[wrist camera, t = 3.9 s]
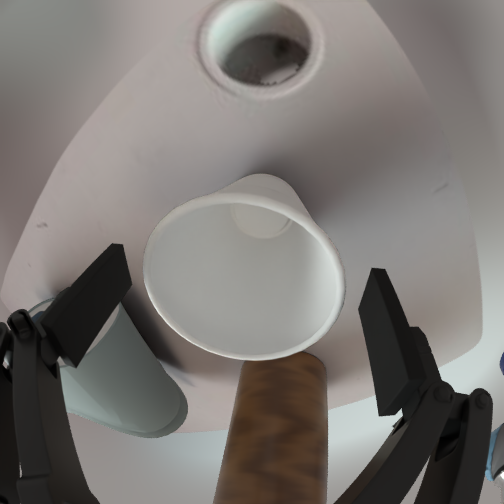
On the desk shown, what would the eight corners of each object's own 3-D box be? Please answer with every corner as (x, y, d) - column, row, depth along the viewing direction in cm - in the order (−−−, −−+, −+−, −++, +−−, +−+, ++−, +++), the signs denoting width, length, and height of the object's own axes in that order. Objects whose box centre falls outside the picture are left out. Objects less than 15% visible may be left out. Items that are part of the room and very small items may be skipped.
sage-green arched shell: (139, 286, 28) (80, 377, 18) (199, 386, 37) (176, 460, 26) (40, 295, 34) (-5, 349, 23) (98, 374, 42) (70, 426, 31)
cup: (230, 272, 26) (198, 368, 16) (184, 174, 21) (107, 235, 12) (336, 245, 23) (359, 344, 13) (301, 131, 19) (313, 158, 9)
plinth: (335, 352, 30) (340, 521, 13) (316, 397, 35) (311, 525, 18) (241, 343, 31) (203, 513, 14) (241, 390, 36) (215, 517, 19)
